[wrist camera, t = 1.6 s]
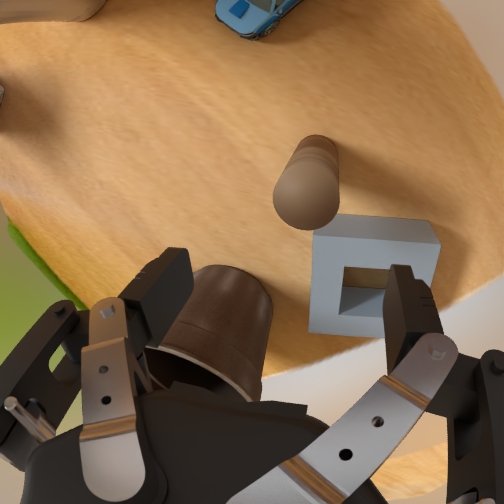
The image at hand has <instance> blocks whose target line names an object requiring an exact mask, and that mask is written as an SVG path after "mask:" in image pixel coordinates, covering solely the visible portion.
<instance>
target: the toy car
mask: <svg viewBox="0 0 504 504" xmlns="http://www.w3.org/2000/svg"><path fill="white" fill-rule="evenodd" d="M302 1H303V0H217V2H216V14H215V17H216V19H217V20H218V21H219V22H222V23H224V24H225V25H226V26H228V27H229V28H230V29H232V30H233V31H234V32H236V33H237V34H239V35H240V37H242V38H245V39H248V40H258V39H259V38H260V37H259V36H261V37H264V36H266V35H268V34H269V33H271V32H272V31H273V30H274V29H275V28H276V27H277V26H278V24H279V22H280V17H281V18H283V17H284V16H285V15H286V14H288V13H289V12H290V11H291V10H292V9H293V8H295V7H296V6H297V5H298V4H299V3H301V2H302Z"/></svg>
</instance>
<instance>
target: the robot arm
mask: <svg viewBox="0 0 504 504" xmlns="http://www.w3.org/2000/svg"><path fill="white" fill-rule="evenodd" d="M105 2H106V0H0V24H7V23H20V22H81V21H84V20H86V19H88V18H90V17H91V16H93V15H94V14H95V13H96V12H98V11H99V9H100V8H101V7H102V6H103V5H104V3H105ZM193 289H194V277H193V272H192V267H191V262H190V257H189V252H188V250H187V249H186V248H175V247H168V248H167V249H166V250H165V251H164V252H163V253H162V254H161V255H160V257H159V258H156V259H154V260H152V261H151V262H149V263H147V264H146V265H145V267H144V268H143V269H142V270H141V271H140V273H138V274H137V275H136V276H135V279H133V280H132V281H131V282H130V283H129V284H128V285H127V287H126V288H125V289H124V290H123V291H122V292H121V293H120V294H119V296H118V297H109V298H105V299H102V300H100V301H98V302H97V303H96V304H95V305H94V306H93V307H92V308H91V310H82V311H77V309H76V307H75V305H74V303H73V302H72V301H71V300H61V301H58V302H56V303H54V304H53V305H51V306H50V307H49V308H48V309H47V310H46V312H45V313H44V314H43V315H42V316H41V317H40V318H39V319H38V321H37V322H36V323H35V324H34V325H33V326H32V328H31V329H30V330H29V331H28V332H27V333H26V335H25V336H24V337H23V338H22V339H21V341H20V342H19V343H18V344H17V346H16V347H15V348H14V349H13V350H12V352H11V353H10V354H9V355H8V357H7V358H6V359H5V361H4V362H3V363H2V364H1V366H0V457H1V458H2V459H3V460H5V461H7V462H9V463H10V464H11V465H13V466H14V467H16V468H17V469H18V470H20V471H22V472H25V482H24V489H23V494H22V498H21V502H20V504H388V503H387V501H386V500H385V499H384V497H383V496H382V494H381V493H380V492H379V490H378V489H377V488H376V486H375V485H374V483H373V482H372V481H371V479H370V478H371V477H372V476H373V475H374V473H375V472H376V471H377V470H378V469H379V468H380V467H381V466H382V465H383V464H384V462H385V461H386V460H387V459H388V458H389V457H390V455H391V454H392V453H393V452H394V451H395V449H396V448H397V447H398V446H399V444H400V443H401V442H402V441H403V440H404V438H405V437H406V436H407V434H408V433H409V432H410V431H411V429H412V428H413V427H414V425H415V424H416V423H417V421H418V420H419V419H420V417H421V416H422V414H423V413H424V412H425V411H426V412H429V413H432V414H436V415H439V416H443V417H446V418H447V433H448V480H447V498H446V504H504V352H502V351H500V350H488V351H486V352H485V353H484V354H483V355H482V357H481V359H477V358H474V357H470V356H467V355H464V354H461V353H459V352H458V348H457V346H456V344H455V343H454V341H452V339H450V338H449V337H448V336H446V335H444V332H443V328H442V325H441V321H440V318H439V314H438V311H437V308H436V305H435V301H434V300H433V295H432V292H431V289H430V287H429V286H428V285H427V284H426V283H425V282H424V281H423V280H422V279H415V277H414V274H413V271H412V268H411V266H410V265H400V264H391V266H390V270H389V275H388V280H387V284H386V289H385V293H384V298H383V307H382V313H383V323H384V333H385V343H386V357H387V373H388V377H387V376H386V375H384V376H382V377H381V378H380V379H379V380H378V381H377V382H376V383H375V384H374V385H373V386H372V387H371V388H370V389H369V390H368V391H367V392H366V393H365V394H364V395H363V396H362V397H361V398H360V399H359V401H357V402H356V403H355V404H354V405H353V406H352V407H351V408H350V409H349V410H348V411H347V412H346V413H345V414H344V415H343V416H342V417H341V418H340V419H339V420H337V421H336V422H335V423H334V424H333V425H332V426H331V427H329V426H328V425H327V424H325V423H323V422H322V421H321V420H318V419H316V418H314V417H312V416H309V415H306V413H307V407H308V406H307V405H303V404H293V403H286V402H279V401H256V402H233V401H231V400H228V399H226V398H224V397H222V396H220V395H218V394H215V393H213V392H211V391H209V390H207V389H205V388H202V387H198V386H194V385H189V384H185V383H181V382H177V381H174V382H173V384H172V385H171V387H170V389H166V390H157V391H153V388H152V383H151V379H150V375H149V370H148V366H147V361H146V356H145V353H144V351H143V350H144V348H145V347H146V346H149V347H153V348H158V347H159V345H160V343H161V342H162V340H163V339H164V337H165V335H166V334H167V332H168V331H169V329H170V327H171V326H172V324H173V323H174V321H175V319H176V318H177V316H178V315H179V313H180V312H181V310H182V308H183V307H184V305H185V304H186V302H187V301H188V299H189V297H190V296H191V294H192V292H193ZM60 344H61V346H62V347H63V349H64V351H65V352H66V354H65V356H64V357H63V358H62V360H61V361H60V363H59V364H58V365H57V367H56V368H55V370H54V371H53V372H51V371H50V369H49V360H50V358H51V356H52V355H53V353H54V352H55V351H56V349H57V348H58V347H59V345H60ZM80 390H82V412H83V424H82V425H80V426H77V427H75V428H73V429H71V430H69V431H67V432H64V433H62V434H60V435H58V436H56V430H57V428H58V426H59V424H60V423H61V421H62V419H63V418H64V416H65V414H66V413H67V411H68V409H69V408H70V406H71V404H72V403H73V401H74V399H75V398H76V396H77V394H78V393H79V391H80ZM55 436H56V437H55Z"/></svg>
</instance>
